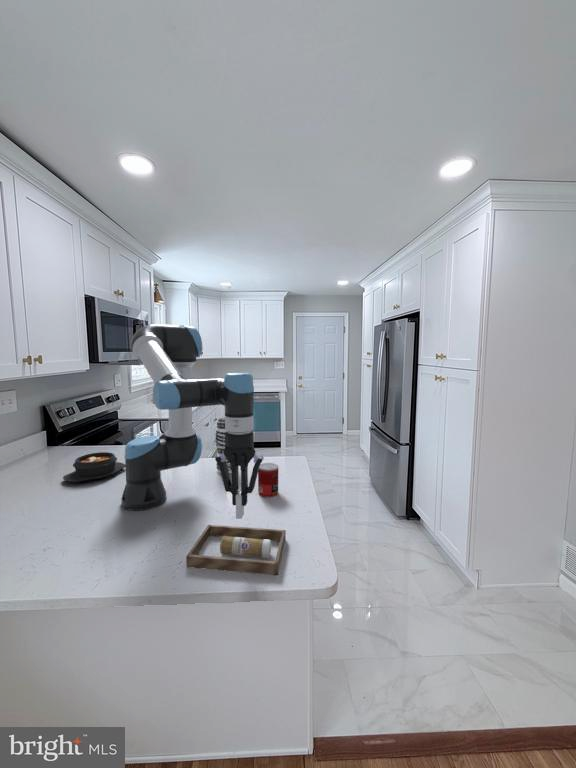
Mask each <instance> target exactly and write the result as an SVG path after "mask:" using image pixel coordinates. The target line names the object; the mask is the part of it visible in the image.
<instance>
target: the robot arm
mask: <svg viewBox="0 0 576 768" xmlns="http://www.w3.org/2000/svg"><path fill="white" fill-rule="evenodd" d="M130 349H131V352H132V354H133V355H134V357H135V359H137V360H138V361H140V362H141V363H142V364H143V366H144V368H145V369H146V372H147V373H148V375H149V377H150V378H151V379H152V381H153V382H154V383H153V384H154V385H153V387H152V388H153V389H152V398H153V401H154V402H153V403H154V405H155V407H156V409H158V410H160V411H161V410H163V411H164V410H168V429H167V430H166V431H164V438H160V437H159V436H158V435H154V434H153V435H145V436H139V437H137V438H134V439H132V440H130V441H128V443H126V445H125V447H124V457H123V458H124V459H125V460H124V461H125V463H124V464H125V466H126V467H125V486H124V489H123V492H122V496H121V507H122V508H123V509H125V510H129V511H145V510H148V509H152V508H155V507H157V506H160V505H161V504H163V503H165V501H166V499H167V490H166V488H165V485H164V483H163V481H162V479H161V478H162V477H161V476H162V475H161V472H162V471H165V470H166V471H167V470H171V469H177V468H180V467H188V466H190V465H194V464H196V463H197V462H198V461H199V460H200V458H201V456H202V452H203V443H202V439H201V437H200V435H199V434H198V433H197V430H195V428H193V408H198V407H200V408H201V407H210V406H224V417H225V430H226V431H227V432H226V433H225V449H224V452H223V453H222V454H220V455H218V456H217V455H216V457H215V461H216V464H217V463H218V465H219V467H220V471H221V473H220V474H221V475H220V476H221V479H222V483H223V487H224V491H225V492H226V493H231V495H232V496H231V499H232V501H231V503H232V506H235V519H237V520H238V519H239V520H241V519H243V517H244V515H245V507H246V506H247V504H248V494H252V493H253V492H254V489H255V485H256V482H257V479H258V470H259V466H260V464H262V463H263V461H264V459H265V458H264V456H262V455H261V456H260V455H258V454H257V453H256V452H257V451H256V450H255V445H254V444H255V443H254V435H255V434H254V431H253V430H254V426H255V425H254V424H255V423H254V397H255V395H254V394H255V393H254V392H255V386H254V377H253V374H251V373H250V372H249V373H248V372H227V373H226V374H225V375H224V377H211V378H201V379H200V378H199V379H197V378H194V379H193V366H194V365H195V364H196V363H197V358H199V357H201V355H202V352H203V341H202V337H201V334H200V332H199V330H198V329H197V328H196V327H194V326H190V325H184V324H182V325H181V324H179V325H178V324H159V323H152V324H151V323H150V324H147V325H144V326H142V327H141V328H139V329H137V331H136V332H134V334H133V335H132V337H131V341H130ZM226 458H227V460H228V461H229V462H230V464H231V470H232V473H231V476H230V473H229V471H228V467H227V463H226V461H225V460H226ZM252 460H253V463H254V465H253V467H252V471H251V476H250V480H249V477H248V474H249V473H248V472H249V471H248V470H249V469H248V468H249V467H248V466H249V463H250V462H251V461H252ZM239 467H240V468H239ZM239 469H240V485H239ZM248 481H249V482H248ZM239 486H240V488H239ZM239 489H240V490H239Z"/></svg>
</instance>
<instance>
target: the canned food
mask: <svg viewBox="0 0 576 768" xmlns="http://www.w3.org/2000/svg"><path fill="white" fill-rule="evenodd" d="M257 491H258V494H259V495H260V497H264V498H273V497H275V496H277V495H278V493H279V465H278V464H277V463H274V462H273V463H272V462H264V463H263V462H262V463H261V464H260V466H259V470H258V474H257Z"/></svg>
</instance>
